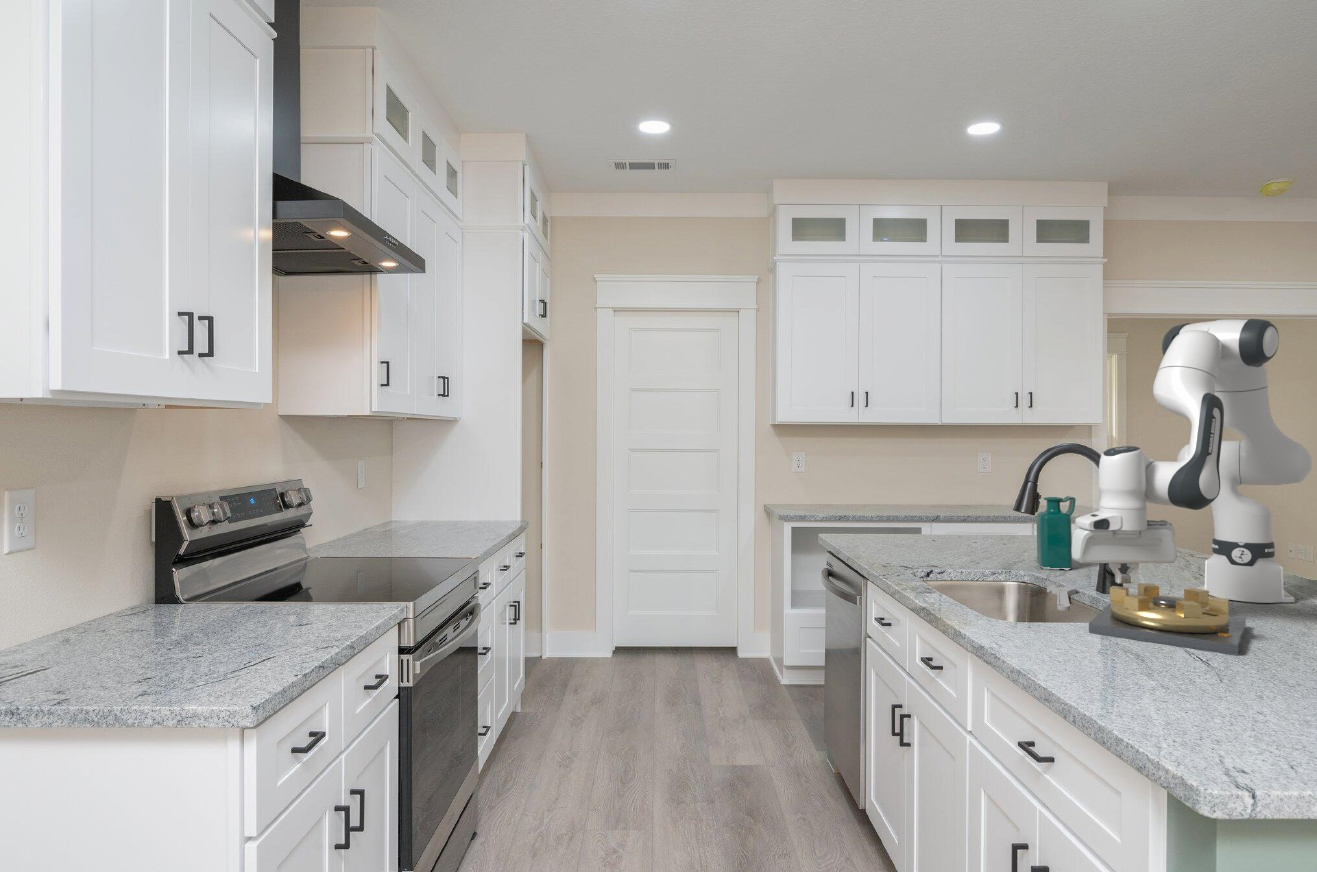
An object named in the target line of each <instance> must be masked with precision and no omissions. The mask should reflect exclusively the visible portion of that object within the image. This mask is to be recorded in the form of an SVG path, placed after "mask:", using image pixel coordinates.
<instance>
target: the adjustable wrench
mask: <svg viewBox="0 0 1317 872" xmlns="http://www.w3.org/2000/svg"><path fill="white" fill-rule="evenodd" d="M1046 590H1047V591H1046V592H1047V593H1049V594H1053V595H1056V597H1057V598H1056V599H1057V601H1056V607H1057V608H1056V609H1057V610H1058V611H1064V612H1066V611H1067V612H1070V611H1071V605H1070V600H1069V596H1071V595H1074V594H1076V593H1077V587H1075V586H1073V585H1069V584H1064V587H1058V586H1057V585H1054V584H1051V585H1048V586H1047V587H1046Z"/></svg>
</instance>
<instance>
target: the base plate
mask: <svg viewBox="0 0 1317 872" xmlns="http://www.w3.org/2000/svg"><path fill="white" fill-rule="evenodd" d="M1246 625H1247V622H1246V618H1243V617H1233V616H1229V628H1228V629H1227V630H1224V631H1220V632H1211V633H1191V632H1176V631H1167V630H1159V629H1153V628H1147V627H1142V626H1138V625H1133V624H1130V623H1126V622H1123V621H1120V620H1118V619H1116V618H1114V617H1113V616H1112V615H1111V602H1110V603H1109V604H1108V605H1107V606H1105V608H1103V610H1101V611H1100V612H1099V613H1098V614H1097V615H1096V616H1095V617H1094V618H1093V619H1092V620H1090V622H1088V633H1089V634H1095V635H1099V636H1101V635H1102V636H1108V637H1114V638H1121V639H1128V640H1134V641H1140V642H1141V641H1142V642H1147V643H1154V644H1161V645H1167V646H1173V647H1174V646H1175V647H1179V648H1186V649H1191V650H1197V651H1198V650H1199V651H1207V652H1213V653H1219V654H1224V655H1225V654H1226V655H1233V656H1239V654H1240V651H1241V647H1242V643H1243V639H1244V636H1245V632H1246V629H1247V626H1246Z"/></svg>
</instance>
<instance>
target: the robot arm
mask: <svg viewBox="0 0 1317 872" xmlns="http://www.w3.org/2000/svg"><path fill="white" fill-rule="evenodd" d="M1279 341H1280V336H1279V331H1278V328H1277V327H1276V326H1275V324H1273V323H1272V322H1271V321H1269V320H1266V319H1260V318H1249V319H1238V318H1237V319H1235V318H1234V319H1226V318H1225V319H1217V320H1211V321H1201V322H1196V323H1189V322H1188V323H1181V324H1177V325H1175V326H1172V327H1171V328H1170V329H1169V330H1168V331H1167V332H1166V333H1165V335H1164V336H1163V339H1162V343H1161V349H1162V350H1161V351H1162V356H1163V358H1162V359H1161V362H1160V364H1159V367H1158V370H1157V373H1156V375H1155V379H1154V382H1153V386H1152V394H1153V397H1154V399H1155V401H1156V402H1157V403H1158V405H1160V406H1161V408H1163V409H1164V410H1166V411H1168V412H1170V413H1171V414H1174V415H1176V416H1179V417H1181V418H1185V419H1187V420H1189V422H1190V424H1191V425H1190V426H1191V429H1190V430H1191V432H1190V439H1189V443H1188V444H1186V445H1184V446H1183V447H1182V448H1181V449H1180V451H1179V453H1178V454H1177V457H1176V461H1169V460H1168V461H1166V460H1165V461H1162V460H1155V458H1154V459H1153V458H1150V457H1149V456H1147V455H1145V454H1144V453H1143V450H1142V448H1140V447H1139V446H1134V445H1133V446H1132V445H1131V446H1130V445H1128V446H1125V445H1124V446H1115V447H1110V448H1108V449H1106V450H1104V451H1102V453H1101V455H1100V458H1099V463H1098V479H1097V480H1098V481H1097V483H1098V490H1099V492H1100V500H1099V503H1098V510H1097V511H1094V512H1091V513H1088V514H1085V515H1081V516H1078V517H1076V518H1075V520H1074V521H1075V524H1074V525H1075V526H1076V527H1078V528H1076V529H1075V530H1074V532H1073V534H1072V559H1074V561H1075V562H1078V563H1081V564H1108V567H1109V569H1110V570H1111V571H1112V573H1113V574H1114V581H1115V583H1117V584H1119V585H1121V584H1134V576H1135V575H1136V573H1137V571H1138V570H1139V569H1140V566H1139V565H1140V564H1174V563H1175V562H1176V561H1177V560H1178V552H1177V551H1178V550H1177V543H1176V540H1175V537H1176V529H1175V526H1174V524H1173V523H1171V522H1169V521H1168V520H1166V519H1165V520H1164V519H1161V520H1155V519H1154V520H1153V519H1148V510H1147V509H1148V506H1147V504H1154V505H1161V506H1171V507H1173V506H1174V507H1177V508H1183V509H1188V510H1194V511H1199V510H1203V509H1205V508H1206V507H1208V506H1210V507H1211V511H1212V516H1213V517H1212V518H1213V529H1214V530H1213V531H1214V535H1213V536H1214V537H1213V538H1212V540H1211V541H1212V542H1211V547H1212V548H1211V551H1212V553H1213V554H1212V555H1211V556H1210V557H1209V558H1208V559H1206V560H1205V563H1204V566H1205V567H1204V568H1205V569H1204V584H1203V585H1200V586H1197V587H1196V588H1197V589H1202V590H1207V591H1209V596H1210V597H1218V598H1227V599H1229V601H1230V600H1232V601H1238V602H1246V603H1257V604H1258V603H1260V604H1265V603H1266V604H1268V603H1269V604H1274V603H1296V600H1295V599H1296V598H1295V597H1294V596H1293V595H1291V594H1290V593H1289V592H1287V591H1286V590H1284V587H1285V585H1286V583H1285V581H1284V569H1283V566H1281V564H1280V563H1278V562H1277V561H1276V560H1275V558H1274V557H1275V556H1276V552H1275V551H1276V546H1275V542H1274V541H1273V532H1272V531H1273V528H1272V527H1273V526H1272V525H1273V523H1272V522H1273V519H1272V513H1271V511H1270V509H1269V508H1268V507H1267V506H1266V505H1265V504H1264V503H1261V502H1259V501H1258V500H1255V499H1252V498H1250V497H1248V496H1245V495H1243V494H1242V493H1241V492H1240V491H1239V488H1238V486H1242V485H1243V486H1244V485H1246V486H1247V485H1249V486H1250V485H1251V486H1252V485H1253V486H1255V485H1256V486H1282V485H1290V484H1299V483H1301V482H1303V481H1304V480H1306V478H1308V476H1309V474H1311V470H1312V469H1313V468H1312V467H1313V459H1312V456H1311V453H1310V452H1309V451H1308V449H1307V448H1306V447H1305V446H1303V445H1302V444H1300V443H1299V442H1297V441H1295V440H1293V439H1292V438H1290V437H1289V436H1287V435H1286V434H1285V433H1283V431H1281V429H1280V428H1279V427H1278V426H1277V424H1276V423H1275V421H1274V418H1273V416H1272V413H1271V408H1270V402H1269V401H1270V399H1269V385H1268V383H1269V381H1268V380H1269V379H1268V373H1267V366H1266V363H1268V362H1270V360H1271V359H1272V358H1273V357H1274V356H1276V353H1277V351H1278V349H1279V348H1278V347H1279ZM1224 428H1227V429H1229V430H1231V431H1235V432H1237V433H1239V434H1240V436H1242V438H1243V439H1241V440H1223V433H1224ZM1121 564H1126V567H1128V569H1127V571H1126V573H1125V574H1124V573H1122V572H1120V570H1119V569H1121V567H1122V566H1121Z"/></svg>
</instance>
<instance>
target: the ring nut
mask: <svg viewBox="0 0 1317 872" xmlns="http://www.w3.org/2000/svg"><path fill="white" fill-rule="evenodd" d="M1136 585H1137V594H1130V593H1129V590H1130V589H1129V587H1126V586H1117V585H1112V586H1110V587H1109V600H1110V603H1111V615H1112V616H1113V617H1114V618H1116V619H1118V620H1120V621H1123V622H1126V623H1130V624H1133V625H1138V626H1142V627H1147V628H1153V629H1159V630H1167V631H1176V632H1191V633H1211V632H1220V631H1224V630H1227V629H1228V628H1229V617H1230V614H1229V613H1230V600H1229V599H1227V598H1219V597H1215V596H1210V595H1209V591H1207V590H1202V589H1197V587H1193V588H1192V587H1190V588H1184V589H1183V596H1184V597H1180V596H1179V597H1178V596H1170V595H1162V594H1161V595H1160V586H1159V585H1157V584H1155V583H1145V582H1144V583H1143V582H1142V583H1141V582H1137V584H1136Z"/></svg>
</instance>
